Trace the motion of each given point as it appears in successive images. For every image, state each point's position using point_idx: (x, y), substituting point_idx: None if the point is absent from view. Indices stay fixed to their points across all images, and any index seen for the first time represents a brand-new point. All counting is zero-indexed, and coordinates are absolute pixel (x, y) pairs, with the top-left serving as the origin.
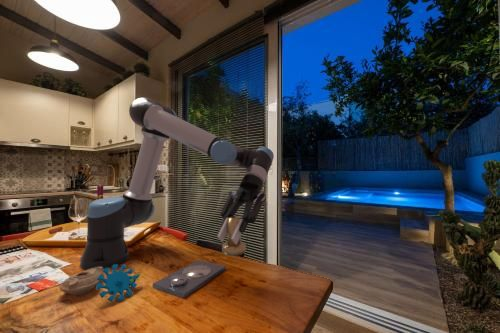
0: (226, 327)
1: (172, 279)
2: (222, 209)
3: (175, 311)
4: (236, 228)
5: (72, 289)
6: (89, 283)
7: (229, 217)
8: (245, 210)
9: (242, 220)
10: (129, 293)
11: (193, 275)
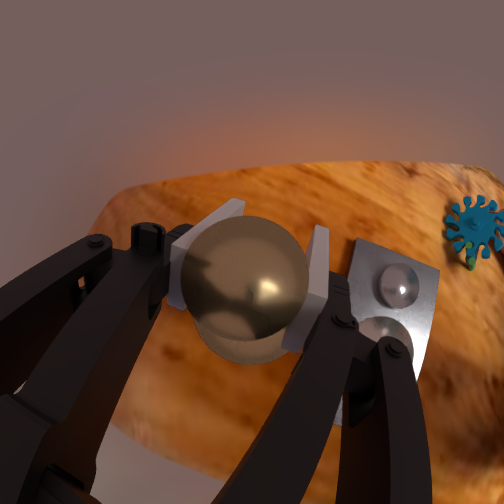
0: (236, 171)
1: (410, 274)
2: (415, 389)
3: (345, 199)
4: (218, 219)
5: (501, 209)
6: (500, 222)
7: (292, 270)
8: (113, 303)
9: (170, 258)
10: (449, 231)
11: (377, 327)
